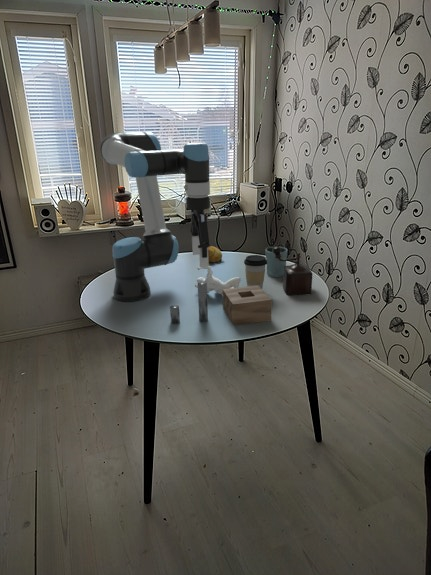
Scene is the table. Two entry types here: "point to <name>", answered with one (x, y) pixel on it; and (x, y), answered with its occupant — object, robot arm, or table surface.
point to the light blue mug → (275, 262)
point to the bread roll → (214, 254)
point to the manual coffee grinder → (295, 276)
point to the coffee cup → (255, 270)
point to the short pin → (174, 314)
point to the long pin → (202, 301)
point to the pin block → (246, 305)
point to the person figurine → (217, 282)
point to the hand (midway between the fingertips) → (200, 260)
